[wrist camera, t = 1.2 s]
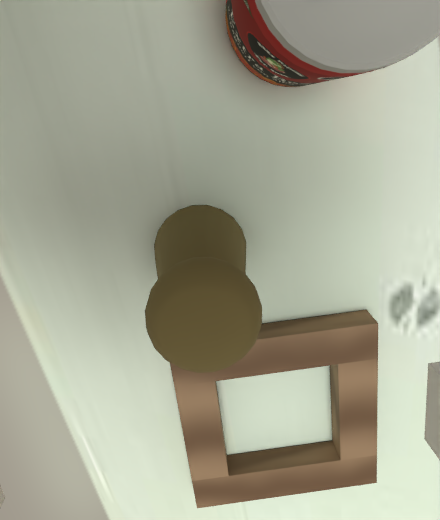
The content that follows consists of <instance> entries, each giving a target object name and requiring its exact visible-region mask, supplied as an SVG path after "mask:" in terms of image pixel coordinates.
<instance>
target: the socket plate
mask: <svg viewBox="0 0 440 520" xmlns="http://www.w3.org/2000/svg"><path fill="white" fill-rule="evenodd" d="M170 365H171V370H172V376H173V381H174V386H175V392H176V397H177V403H178V408H179V413H180V419H181V424H182V429H183V435H184V440H185V445H186V451H187V456H188V462H189V467H190V472H191V478H192V483H193V488H194V494H195V499H196V504H197V508H202V507H209V506H216V505H223V504H230V503H237V502H244V501H251V500H258V499H265V498H272V497H279V496H286V495H293V494H300V493H307V492H314V491H322V490H329V489H336V488H343V487H350V486H357V485H364V484H371V483H377V383H378V323H377V321H376V320H375V319H374V318H373V317H372V316H371V314H370V313H369V312H368V311H367V310H361V311H354V312H346V313H339V314H332V315H324V316H317V317H309V318H302V319H295V320H287V321H280V322H273V323H265V324H261V329H260V332H259V334H258V337H257V340H256V342H255V344H254V346H253V347H252V348H251V349H250V350H249V352H248V353H247V354H246V355H245V357H243V358H242V359H240V360H239V361H237V362H236V363H234V364H233V365H231V366H230V367H228V368H225V369H222V370H219V371H216V372H206V373H197V372H192V371H188V370H184V369H181V368H179V367H178V366H176V365H174V364H172V363H170ZM328 365H330V385H331V413H332V441H326V442H319V443H312V444H305V445H298V446H290V447H283V448H276V449H269V450H262V451H255V452H248V453H241V454H233V455H227V454H226V448H225V441H224V434H223V427H222V420H221V413H220V406H219V400H218V393H217V386H216V381H219V380H227V379H234V378H241V377H248V376H256V375H263V374H270V373H277V372H285V371H292V370H299V369H307V368H314V367H321V366H328Z"/></svg>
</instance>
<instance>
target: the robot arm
mask: <svg viewBox="0 0 440 520" xmlns="http://www.w3.org/2000/svg"><path fill="white" fill-rule="evenodd" d="M425 440H426V442H427V443H428V444H429V446H430V447H431V449H432V450H433V451H434V453H435V454H436V456H437V457H438V458H439V460H440V362H435V363H428V380H427V400H426V419H425ZM4 499H5V496H4V494H3V491H2V488H1V486H0V508H1V505H2V503H3V501H4Z"/></svg>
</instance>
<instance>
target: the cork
mask: <svg viewBox="0 0 440 520" xmlns="http://www.w3.org/2000/svg"><path fill="white" fill-rule="evenodd" d="M154 248H155V261H156V268H157V276H158V280H157V282H156V283H155V285H154V286H153V287H152V289H151V292H150V295H149V299H148V302H147V306H146V309H145V318H146V328H147V332H148V335H149V337H150V339H151V341H152V343H153V346H154V348H155V349H156V350H157V351H158V352H159V353H160V354H161V355H162V356H163V357H164V359H165V360H167V361H169V362H170V363H172V364H174V365H176V366H178V367H179V368H181V369H184V370H188V371H192V372H197V373H206V372H216V371H219V370H222V369H225V368H228V367H230V366H231V365H233V364H234V363H236V362H237V361H239V360H240V359H242V358H243V357H245V355H246V354H247V353H248V352H249V350H250V349H251V348H252V347H253V346H254V344H255V342H256V340H257V337H258V334H259V332H260V329H261V324H262V305H261V302H260V299H259V296H258V293H257V291H256V288H255V286H254V284H253V283H252V282H251V281H250V279H249V278H248V277H247V275H246V274H245V269H246V240H245V237H244V234H243V231H242V229H241V227H240V226H239V225H238V223H237V222H236V221H235V219H234V218H233V217H232V216H230V215H229V214H227V213H226V212H224V211H223V210H221V209H218V208H215V207H212V206H208V205H192V206H189V207H186V208H183V209H180V210H178V211H176V212H175V213H174V214H172V215H171V216H170V217H168V218H167V219H166V220H165V221H164V223H163V224H162V226H161V227H160V229H159V230H158V233H157V236H156V240H155V244H154Z"/></svg>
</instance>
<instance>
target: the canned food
mask: <svg viewBox="0 0 440 520" xmlns="http://www.w3.org/2000/svg"><path fill="white" fill-rule="evenodd" d="M226 24H227V31H228V35H229V38H230V41H231V44H232V46H233V49H234V50H235V52H236V54H237V56H238V57H239V59H240V61H241V62H242V63H243V64H244V65H245V66H246V67H247V68H248V70H249V71H251V72H252V73H253V74H255V75H256V76H257V77H259V78H260V79H262V80H264V81H267V82H269V83H271V84H275V85H280V86H285V87H297V86H304V85H309V84H314V83H319V82H324V81H329V80H334V79H339V78H344V77H349V76H353V75H358V74H362V73H366V72H371V71H374V70H377V69H381V68H385V67H387V66H389V65H392V64H394V63H396V62H398V61H401V60H403V59H405V58H407V57H408V56H411V55H413V54H414V53H416V52H417V51H419V50H420V49H421V48H423V47H424V46H426V45H427V44H429V43H430V42H432V41H433V40H434V39H435V38H436V37H437V36H438V35H439V34H440V0H226Z"/></svg>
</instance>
